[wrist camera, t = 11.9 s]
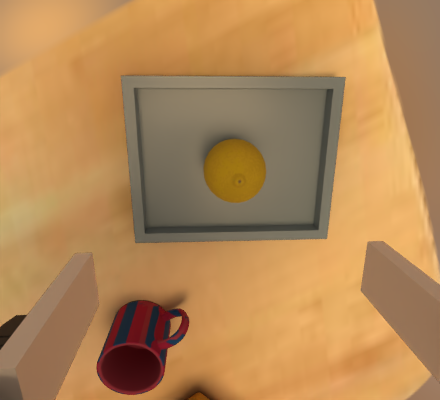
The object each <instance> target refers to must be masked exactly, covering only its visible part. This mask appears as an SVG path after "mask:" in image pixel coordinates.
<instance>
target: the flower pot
mask: <svg viewBox="0 0 440 400" xmlns="http://www.w3.org/2000/svg"><path fill="white" fill-rule="evenodd" d="M188 400H210V399H208V398H207V397H206V396H204V395H203V394H202V393H200V392H198V393H196V394H194V395H193V396H192V397H190V398H189V399H188Z"/></svg>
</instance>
